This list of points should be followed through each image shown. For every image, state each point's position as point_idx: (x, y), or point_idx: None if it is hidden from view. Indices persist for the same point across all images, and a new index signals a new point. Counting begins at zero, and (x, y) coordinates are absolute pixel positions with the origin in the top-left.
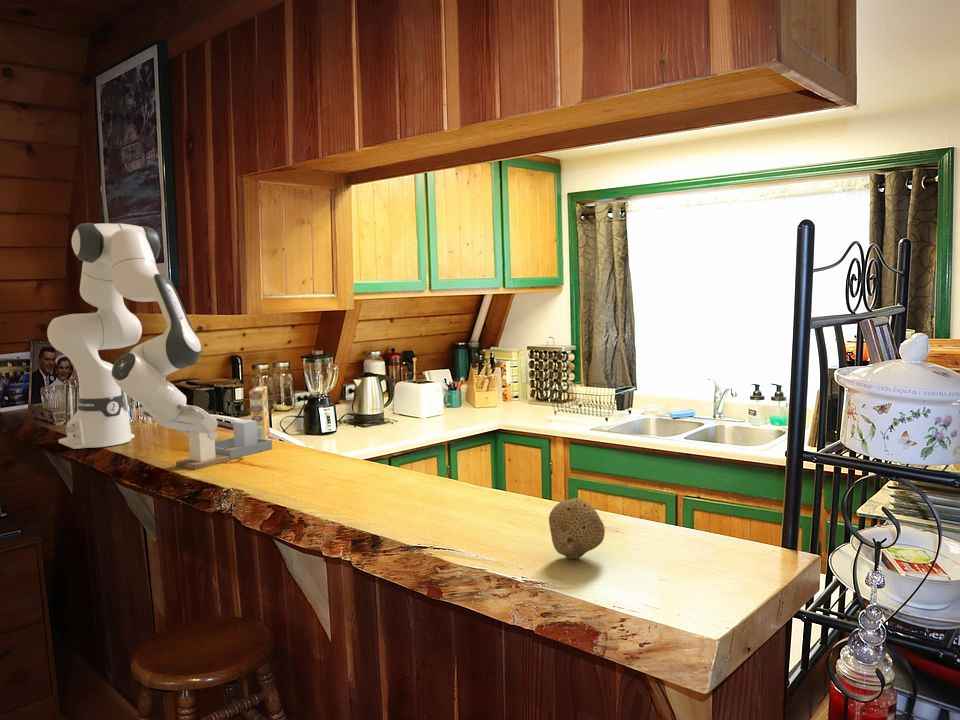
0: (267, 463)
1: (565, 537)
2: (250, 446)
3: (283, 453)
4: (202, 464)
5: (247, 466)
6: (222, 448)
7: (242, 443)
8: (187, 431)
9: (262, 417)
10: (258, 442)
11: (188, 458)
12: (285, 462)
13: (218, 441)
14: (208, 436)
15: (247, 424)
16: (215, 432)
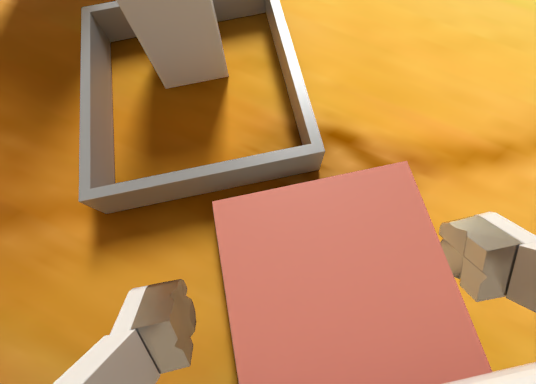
0: (501, 107)
1: None
2: (295, 58)
3: (371, 10)
4: None
5: (505, 180)
6: (258, 158)
7: (207, 55)
8: (161, 359)
9: None
10: None
11: (232, 340)
12: (528, 61)
13: (90, 105)
14: (494, 296)
15: None
16: (525, 231)
